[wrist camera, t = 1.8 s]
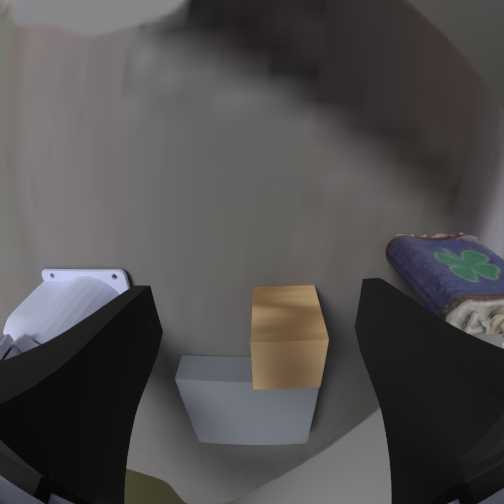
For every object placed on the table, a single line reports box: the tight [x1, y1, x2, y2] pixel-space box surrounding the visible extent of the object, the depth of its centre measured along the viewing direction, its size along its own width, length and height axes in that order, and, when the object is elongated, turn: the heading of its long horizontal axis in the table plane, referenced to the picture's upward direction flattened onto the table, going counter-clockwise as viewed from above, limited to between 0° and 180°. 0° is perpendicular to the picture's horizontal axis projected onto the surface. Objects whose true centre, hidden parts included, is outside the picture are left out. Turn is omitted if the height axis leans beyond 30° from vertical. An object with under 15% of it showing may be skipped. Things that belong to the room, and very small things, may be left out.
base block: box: [175, 355, 319, 445], centre depth 26 cm, size 12×12×3 cm
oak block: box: [250, 285, 329, 390], centre depth 20 cm, size 4×4×6 cm
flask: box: [385, 233, 504, 347], centre depth 15 cm, size 9×3×11 cm, turn 93°
